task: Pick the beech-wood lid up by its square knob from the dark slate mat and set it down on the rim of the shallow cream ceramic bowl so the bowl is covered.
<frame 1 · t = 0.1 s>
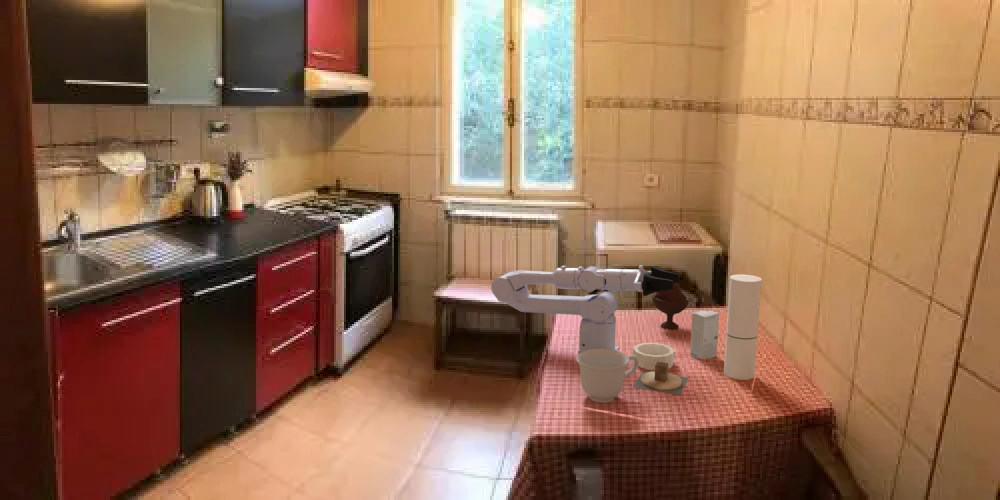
hand: (675, 281, 170), 22 cm above the table, tool horizontal, fingers open, 7 cm apart
lid: (660, 382, 160), resting on mat
teacup: (607, 399, 153), on the table
bowl: (653, 364, 173), on the table
ice cream bowl: (669, 327, 202), on the table
mat: (660, 384, 161), on the table
skincare box: (703, 357, 178), on the table
cylindrical container: (738, 376, 165), on the table
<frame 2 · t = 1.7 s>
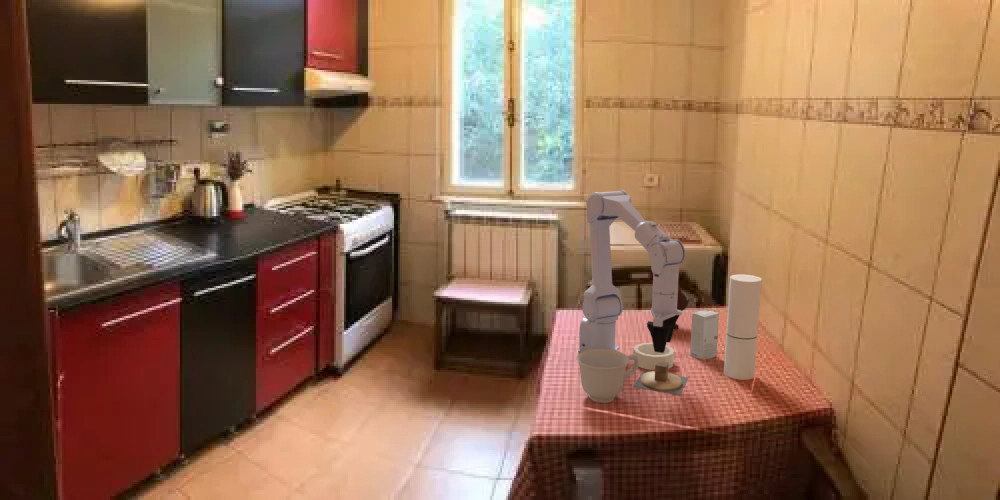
hand: (662, 346, 158), 10 cm above the table, tool pointing down, fingers open, 7 cm apart
nothing on the table moved.
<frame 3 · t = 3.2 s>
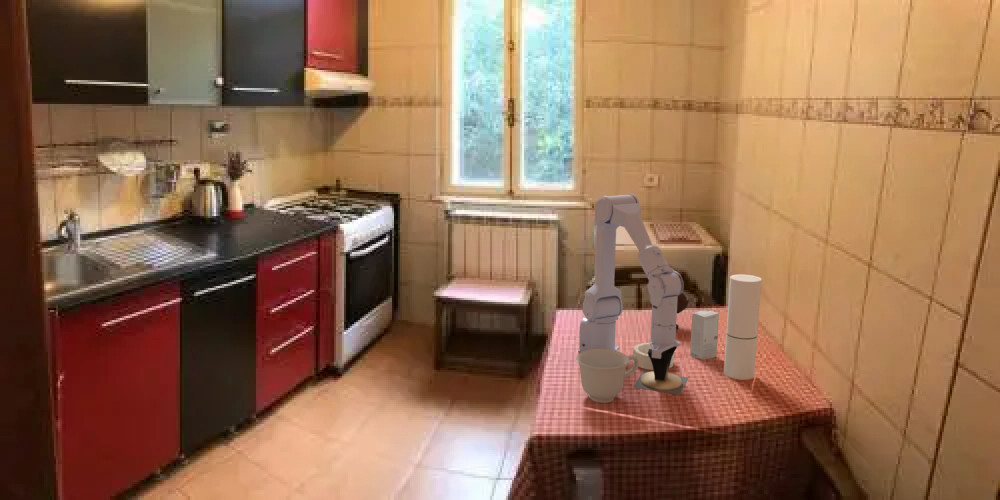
hand: (661, 376, 160), 2 cm above the table, tool pointing down, fingers closed on lid, 3 cm apart
lid: (661, 382, 160), resting on mat, touching gripper
everything else where it was.
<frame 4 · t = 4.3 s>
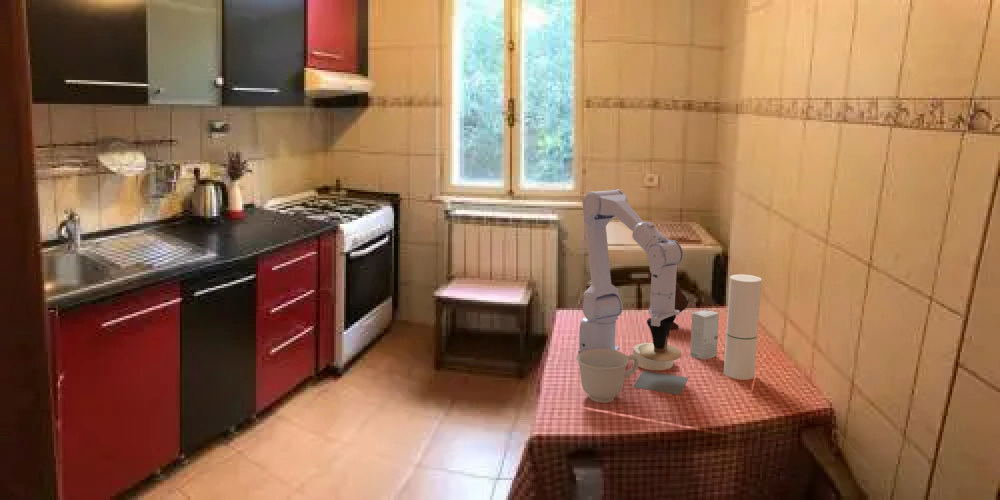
hand: (660, 345, 161), 9 cm above the table, tool pointing down, fingers closed on lid, 3 cm apart
lid: (660, 353, 162), point 7 cm above the table, touching gripper
everything else where it was.
when the fingers open (7 cm above the table, at t = 5.4 s): lid stays where it is, resting on bowl.
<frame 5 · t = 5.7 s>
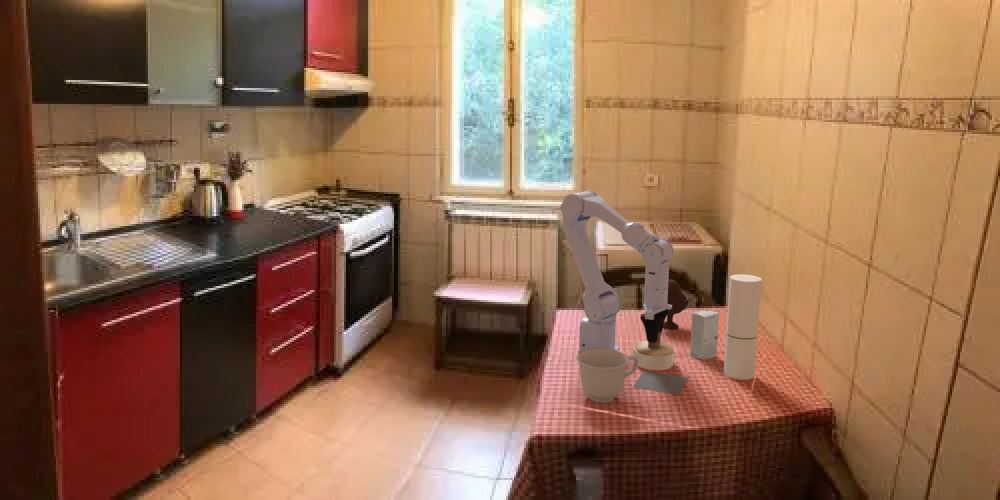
hand: (654, 338, 172), 7 cm above the table, tool pointing down, fingers open, 5 cm apart
lid: (654, 349, 172), point 4 cm above the table, touching bowl
everything else where it was.
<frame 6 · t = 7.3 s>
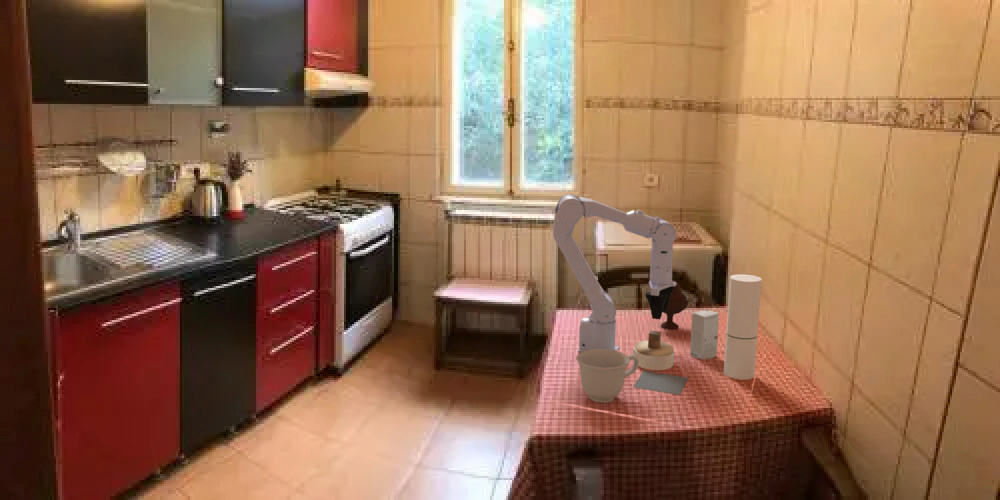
hand: (659, 314, 180), 10 cm above the table, tool pointing down, fingers open, 7 cm apart
nothing on the table moved.
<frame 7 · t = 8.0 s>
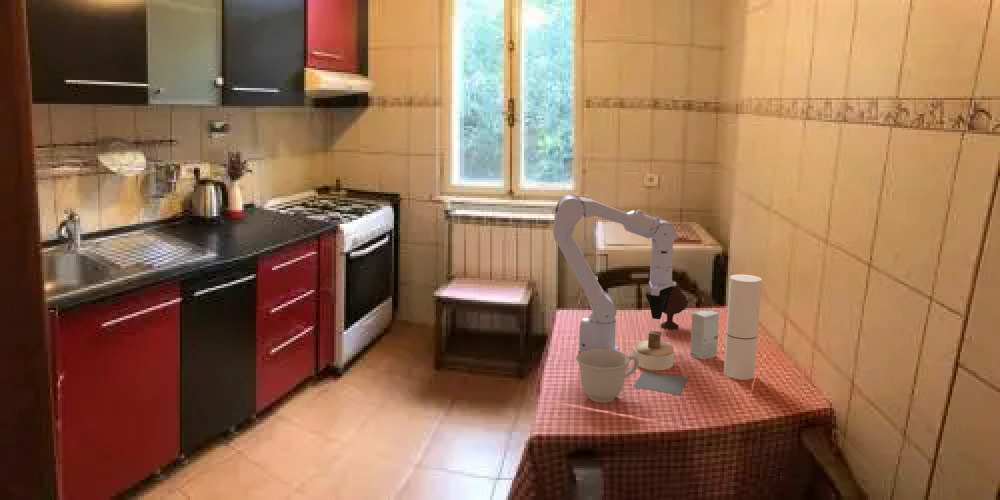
hand: (659, 314, 180), 10 cm above the table, tool pointing down, fingers open, 7 cm apart
nothing on the table moved.
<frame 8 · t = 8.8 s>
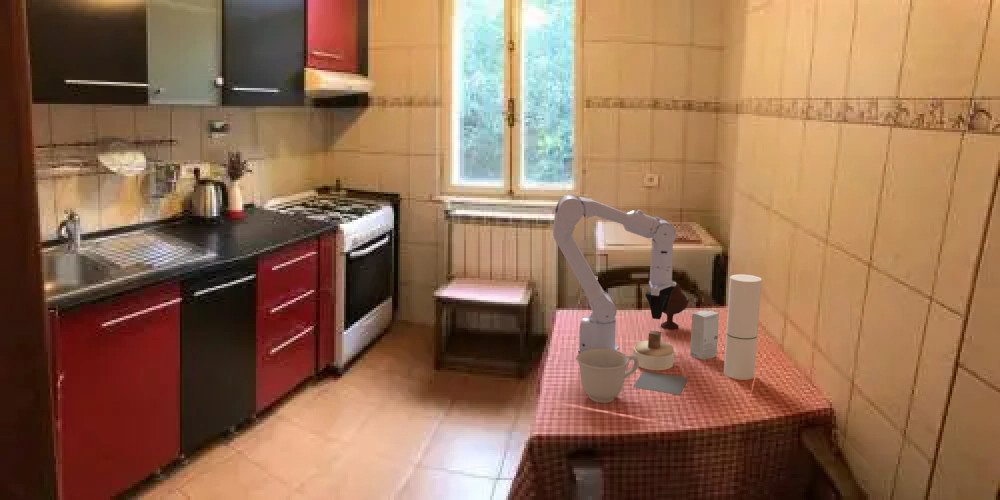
hand: (659, 314, 180), 10 cm above the table, tool pointing down, fingers open, 7 cm apart
nothing on the table moved.
at the end: lid 0.1 cm off-centre on the bowl, point 4.0 cm above the bowl's base; lid tilted 0°; the gripper is holding nothing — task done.
